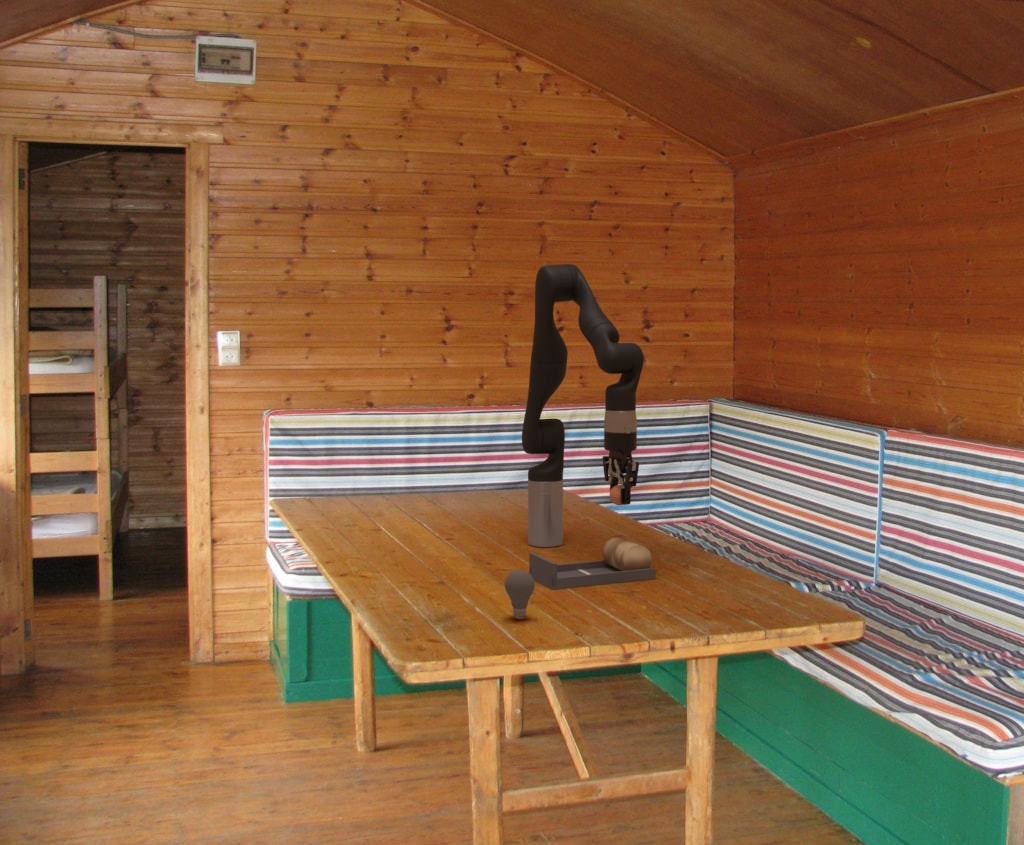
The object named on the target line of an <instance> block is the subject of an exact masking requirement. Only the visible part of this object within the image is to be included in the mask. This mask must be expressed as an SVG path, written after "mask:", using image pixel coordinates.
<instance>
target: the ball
mask: <svg viewBox="0 0 1024 845" xmlns="http://www.w3.org/2000/svg"><path fill="white" fill-rule="evenodd" d="M621 489H622V488H621V484H618V485H616V486H614V487H613V488H612V489H611V491H610V490H609V500H610V499H611V500H610V501H611V503H612V504H614V505H616V506H623V505H622V504H621Z"/></svg>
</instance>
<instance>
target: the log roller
mask: <svg viewBox="0 0 1024 845" xmlns="http://www.w3.org/2000/svg"><path fill="white" fill-rule="evenodd" d="M601 552H602V554H601V555H602V560H604V561H605V562H606V563H607V564H608V565H610V566H612V567H614V568H617V569H619V570H621V571H628V570H637V569H647V568H651V566H652V562H653V560H652V553H651V551H650V550H649V549H648V548H647V547H645V546H643V545H640V544H637V543H634V542H633V541H630V540H626V539H623V537H616V536H615V537H612V538H609V539H608V540H607V541H606V542H605V543H604V545H603V546H602V551H601Z"/></svg>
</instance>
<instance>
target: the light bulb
mask: <svg viewBox="0 0 1024 845" xmlns="http://www.w3.org/2000/svg"><path fill="white" fill-rule="evenodd" d="M535 586H536V584H535V580H534V579H533V577H532V576H531V575H530V574H529V572H528V571H526V570H523V569H516V570H515V569H514V570H513V571H511V572H510V573H509V574H508V575H507V577H506V578H505V581H504V588H505V592H506V593H507V595H508V597H509V599H510V602H511V603H510V604H511V606H512V613H513V615H512V616H513V618H514V619H517V620H519V621H521V620H523V619H526V618H527V607H528V605H529V600H530V597H531V596H532V594H533V593H534V591H535Z"/></svg>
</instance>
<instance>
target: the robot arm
mask: <svg viewBox="0 0 1024 845" xmlns="http://www.w3.org/2000/svg"><path fill="white" fill-rule="evenodd" d="M534 284H535V285H534V286H535V287H534V328H533V338H532V348H531V354H530V355H531V356H530V365H529V381H528V394H527V399H526V400H527V401H526V406H525V410H524V411H525V413H524V418H523V423H522V432H521V446H522V449H523V451H524V452H525V454H528V455H548V456H547V458H546V459H544V461H542V462H541V463H538V464H536V465H534V466H532V467H530V468H529V469H528V472H527V544H528V545H529V546H533V547H539V548H550V547H551V548H552V547H558V546H562V545H563V544H564V468H565V462H564V460H565V442H566V441H565V440H566V433H565V432H566V431H565V426H564V423H563V421H562V420H561V419H559V418H541V415H542V413H543V410H544V408H545V405H546V404H547V403H548V402H549V400H550V398H551V397H552V396H553V395H554V394H555V392H556V391H557V390H558V389H559V387H560V386H561V384H562V383H563V381H564V379H565V377H566V373H567V364H568V353H569V352H568V347H567V344H566V342H565V341H564V338H563V337H562V335H561V333H560V331H559V330H558V328H557V326H556V323H555V318H554V309H555V308H554V307H555V303H561V302H562V303H564V302H570V301H573V303H575V304H576V305H577V306H578V307H579V311H578V312H579V313H578V319H577V320H578V321H577V322H578V326H579V331H581V333H582V335H583V337H584V338H585V339H586V340H587V342H588V343H589V344H590V345H591V347H592V350H593V354H594V356H595V359H596V360H595V361H596V363H597V365H598V368H600V370H601V371H603V372H604V373H606V374H610V375H617V374H619V375H620V374H621V375H620V377H619V380H618V381H617V382H616V383H612V384H609V385H608V386H607V387H606V389H605V393H604V394H605V395H604V397H605V399H604V400H605V404H604V406H605V409H604V412H605V413H604V420H603V428H604V430H603V432H604V433H603V448H604V450H605V451H609V452H608V455H602V466H603V467H602V468H603V475H604V481H605V482H607V483H608V485H609V492H610V491H611V489H612V488H613V487H614V486H616V485H621V488H622V489H621V504H622V505H621V506H624V505H625V506H627V505H631V492H632V491H631V489H632V488H633V487H637V483H638V475H639V467H640V462H639V461H634V460H633V455H632V452H633V451H636V450H637V447H638V442H637V441H638V439H637V438H638V427H637V426H638V423H637V422H638V419H637V408H636V406H637V405H636V404H637V399H636V398H637V395H636V394H637V390H638V387H639V382H640V378H641V375H642V371H643V367H644V362H645V361H644V360H645V358H644V352H643V350H642V348H641V346H640V345H638V343H634V342H619V341H620V333H619V330H618V329H617V327H616V326H615V325H614V323H613V322H612V321H611V319H610V318H608V316H607V315H606V314H605V313H604V310H602V308H601V306H600V305H599V303H598V301H597V299H596V297H595V295H594V292H593V290H592V288H591V287H590V285H589V283H588V281H587V279H586V277H585V275H584V273H583V272H582V270H581V269H580V268H579V267H578V266H576V264H572V263H563V264H559V263H558V264H548V265H546V264H545V265H543V266H541V267H540V268H539V269H538V271H537V273H536V277H535V283H534ZM609 500H610V501H611V499H610V498H609Z"/></svg>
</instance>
